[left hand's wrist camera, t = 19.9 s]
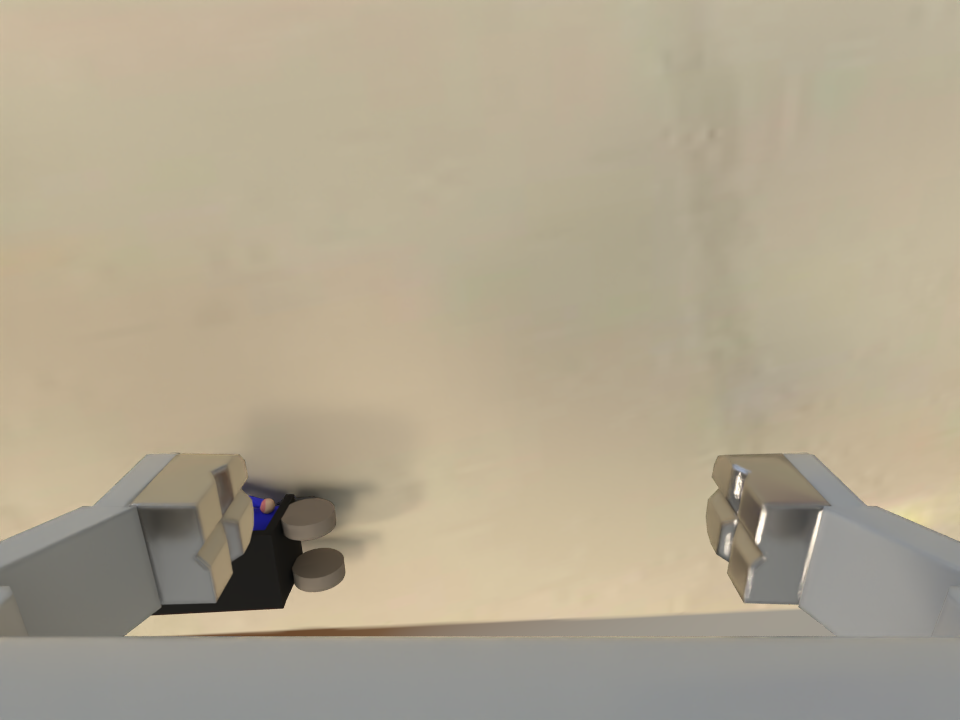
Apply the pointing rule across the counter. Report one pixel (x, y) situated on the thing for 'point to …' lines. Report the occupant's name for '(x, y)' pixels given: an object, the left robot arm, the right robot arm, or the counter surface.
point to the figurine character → (277, 558)
